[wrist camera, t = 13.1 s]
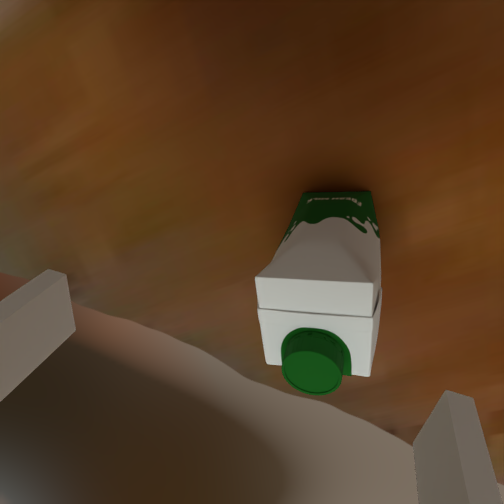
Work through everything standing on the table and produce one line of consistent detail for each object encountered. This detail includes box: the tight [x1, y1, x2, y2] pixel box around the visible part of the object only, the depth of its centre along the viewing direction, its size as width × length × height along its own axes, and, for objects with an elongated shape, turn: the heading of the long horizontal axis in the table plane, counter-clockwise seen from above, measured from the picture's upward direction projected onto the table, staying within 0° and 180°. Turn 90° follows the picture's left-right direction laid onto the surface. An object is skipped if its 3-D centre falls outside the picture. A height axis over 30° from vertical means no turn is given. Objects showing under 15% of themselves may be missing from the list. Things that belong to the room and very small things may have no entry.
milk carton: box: [255, 191, 382, 395], centre depth 31 cm, size 9×9×20 cm
